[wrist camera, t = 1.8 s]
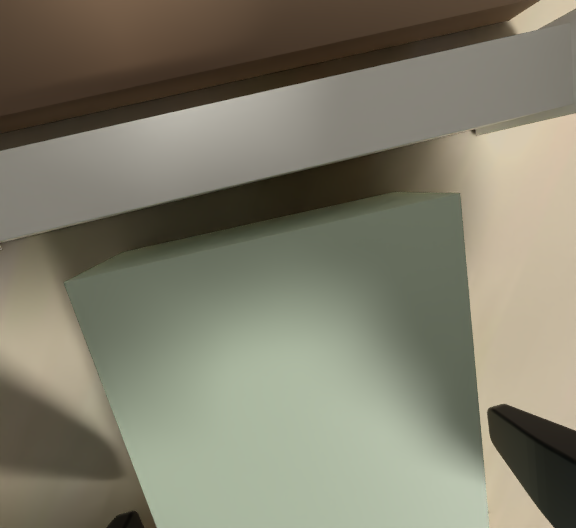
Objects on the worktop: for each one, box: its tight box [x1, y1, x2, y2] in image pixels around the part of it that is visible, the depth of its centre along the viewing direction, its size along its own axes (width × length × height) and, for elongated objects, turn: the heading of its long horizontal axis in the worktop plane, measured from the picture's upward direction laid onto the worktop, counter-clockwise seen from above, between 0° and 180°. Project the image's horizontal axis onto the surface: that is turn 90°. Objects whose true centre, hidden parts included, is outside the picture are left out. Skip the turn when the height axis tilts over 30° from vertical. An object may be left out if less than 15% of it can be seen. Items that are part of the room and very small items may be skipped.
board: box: [63, 192, 489, 528], centre depth 8 cm, size 12×6×3 cm, turn 12°
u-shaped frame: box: [0, 9, 576, 250], centre depth 5 cm, size 2×14×6 cm, turn 103°
